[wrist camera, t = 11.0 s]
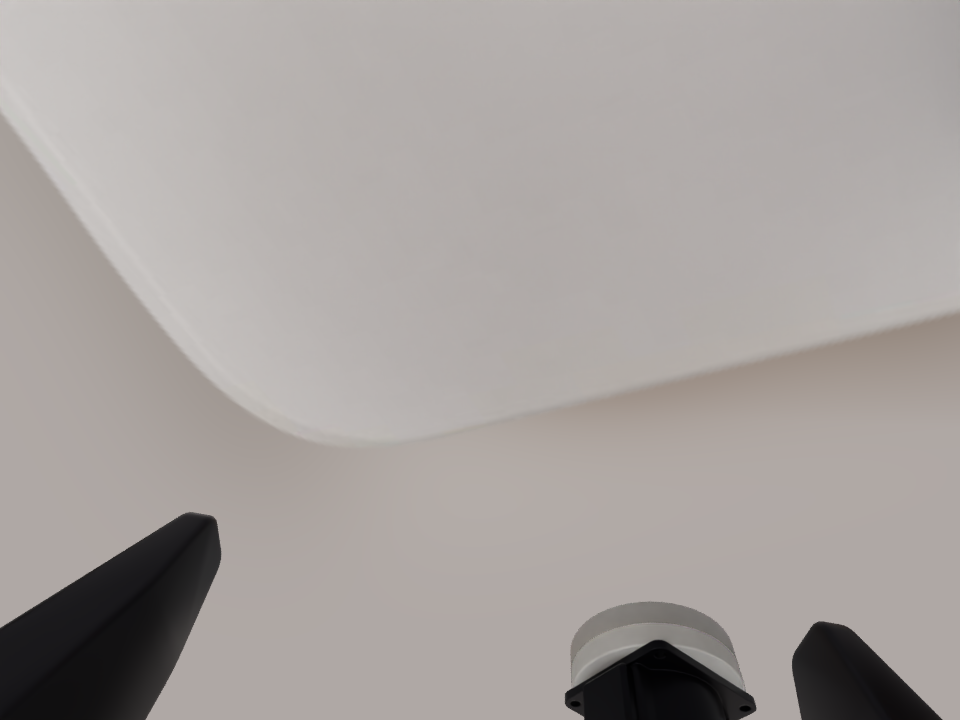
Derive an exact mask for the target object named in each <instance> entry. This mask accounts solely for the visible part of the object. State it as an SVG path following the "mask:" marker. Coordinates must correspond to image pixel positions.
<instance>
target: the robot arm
mask: <svg viewBox="0 0 960 720" xmlns="http://www.w3.org/2000/svg"><path fill="white" fill-rule="evenodd" d="M220 560H221V547H220V540H219V533H218V526H217V521H216V519H215V518H214V517H213V516H210V515H204V514H199V513H193V512H189V513H185V514H183V515H181V516H179V517H178V518H176V519H174V520H173V521H171V522H170V523H168V524H166V525H165V526H163V527H162V528H160V529H158V530H157V531H155V532H153V533H152V534H150V535H149V536H147V537H145V538H144V539H143V540H141V541H139V542H137V543H136V544H134V545H133V546H131V547H129V548H128V549H126V550H125V551H123V552H121V553H120V554H118V555H117V556H115V557H113V558H112V559H110V560H109V561H107V562H105V563H104V564H102V565H101V566H99V567H97V568H96V569H94V570H93V571H91V572H89V573H88V574H86V575H85V576H83V577H82V578H80V579H78V580H77V581H75V582H73V583H72V584H70V585H68V586H67V587H65V588H64V589H62V590H60V591H59V592H57V593H56V594H54V595H52V596H51V597H49V598H48V599H46V600H44V601H43V602H41V603H40V604H38V605H36V606H35V607H33V608H32V609H30V610H28V611H27V612H25V613H24V614H22V615H20V616H19V617H17V618H15V619H14V620H13V621H11V622H9V623H8V624H6V625H4V626H3V627H1V628H0V720H145V719H146V718H147V716H148V714H149V712H150V711H151V709H152V707H153V705H154V704H155V702H156V700H157V698H158V696H159V695H160V693H161V691H162V689H163V688H164V686H165V684H166V682H167V680H168V678H169V677H170V675H171V673H172V671H173V669H174V667H175V665H176V663H177V661H178V659H179V656H180V654H181V652H182V650H183V647H184V645H185V643H186V641H187V639H188V636H189V634H190V632H191V629H192V627H193V625H194V623H195V620H196V618H197V616H198V614H199V611H200V609H201V606H202V604H203V602H204V600H205V598H206V596H207V593H208V591H209V589H210V586H211V584H212V582H213V579H214V577H215V575H216V573H217V570H218V568H219V565H220ZM792 671H793V676H794V682H795V687H796V692H797V697H798V703H799V708H800V713H801V718H802V720H942V719H941V718H940V717H939V716H938V715H937V714H936V713H935V712H934V711H933V710H932V709H931V708H930V707H929V706H928V705H927V704H926V703H925V702H924V701H923V700H922V699H921V698H920V697H919V696H918V695H917V694H916V693H915V692H914V691H913V690H912V689H911V688H910V687H909V686H908V685H907V684H906V683H905V682H904V681H903V680H902V679H901V678H900V677H899V676H898V675H897V674H896V673H895V672H894V671H893V670H892V669H891V668H890V667H889V666H888V665H887V664H886V663H885V662H884V661H883V660H882V659H881V658H880V657H879V656H878V655H877V654H876V653H875V652H874V651H873V650H872V649H871V648H870V647H869V646H868V645H867V644H866V643H865V642H863V640H862V639H861V638H860V637H859V636H857V634H856V633H855V632H853V631H852V630H851V629H849V628H848V627H846V626H844V625H839V624H834V623H828V622H817V623H815V624H813V626H812V627H811V628H810V630H809V631H808V633H807V634H806V636H805V637H804V639H803V640H802V642H801V643H800V645H799V646H798V648H797V649H796V651H795V653H794V655H793V659H792ZM565 704H566V706H567V707H568V708H570V709H571V710H573V711H575V712H577V713H578V714H580V715H582V716H584V720H739V719H741V718H743V717H745V716H748V715H750V714H752V713H753V712H755V711H756V705H755V701H754V698H753V697H752V696H751V695H749V694H748V693H746V692H745V691H743V690H742V689H740V688H739V687H737V686H735V685H734V684H732V683H731V682H729V681H728V680H726V679H724V678H723V677H721V676H720V675H718V674H717V673H715V672H713V671H712V670H710V669H709V668H707V667H706V666H704V665H703V664H701V663H699V662H698V661H696V660H695V659H693V658H692V657H690V656H688V655H687V654H685V653H684V652H682V651H681V650H679V649H677V648H676V647H674V646H673V645H671V644H670V643H668V642H666V641H664V640H653V641H650V642H649V643H647V644H645V645H644V646H642V647H640V648H639V649H637V650H635V651H634V652H632V653H630V654H629V655H627V656H625V657H624V658H622V659H620V660H619V661H617V662H615V663H614V664H612V665H610V666H609V667H607V668H605V669H604V670H602V671H600V672H599V673H597V674H595V675H594V676H592V677H590V678H589V679H587V680H585V681H584V682H582V683H580V684H579V685H577V686H575V687H574V688H572V689H570V690H569V691H567V692H566V693H565Z"/></svg>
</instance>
